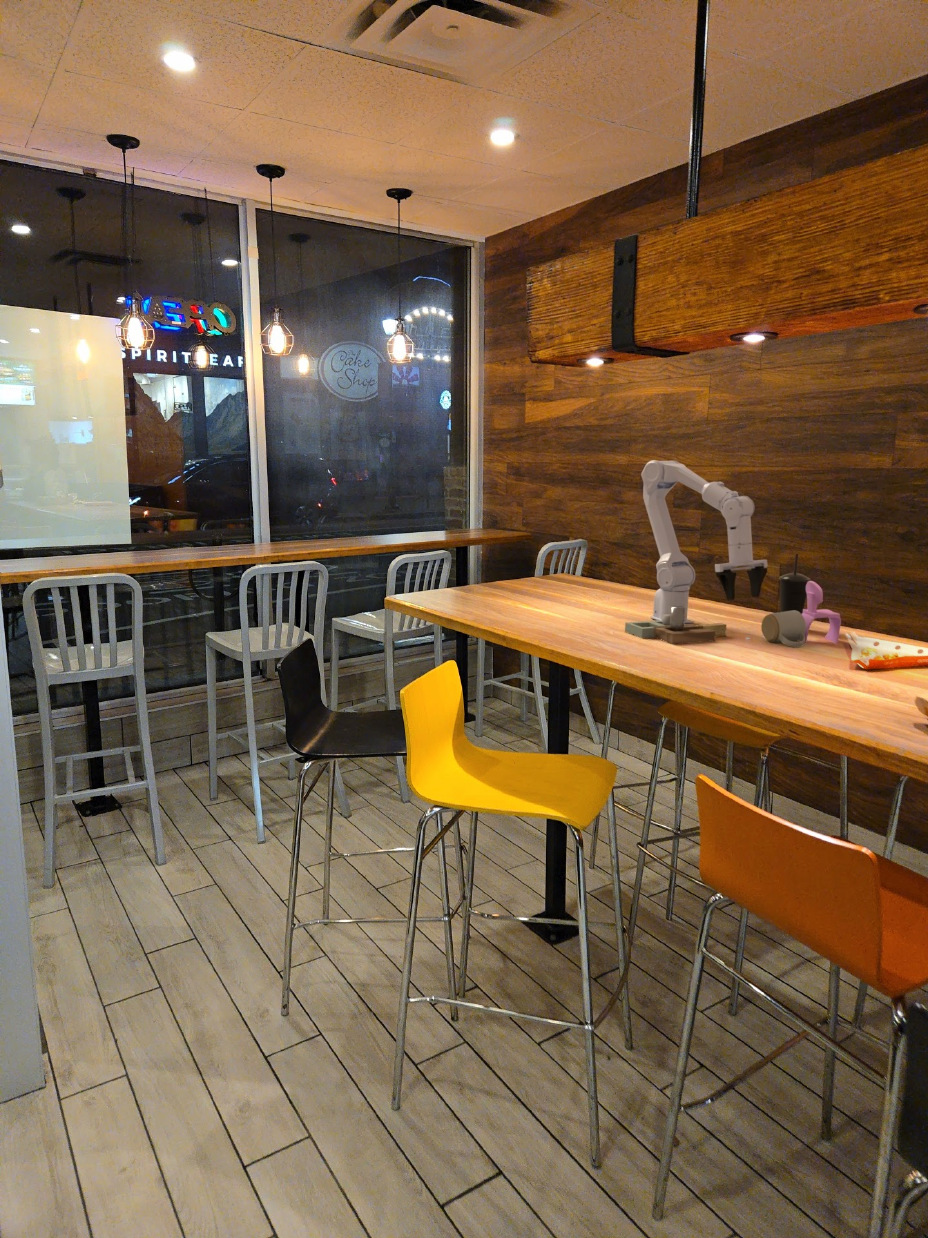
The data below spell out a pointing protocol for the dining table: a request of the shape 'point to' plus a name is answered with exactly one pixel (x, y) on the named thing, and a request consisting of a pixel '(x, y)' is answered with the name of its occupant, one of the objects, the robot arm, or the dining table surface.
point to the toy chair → (820, 612)
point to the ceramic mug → (784, 628)
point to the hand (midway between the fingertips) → (743, 598)
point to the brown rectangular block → (715, 628)
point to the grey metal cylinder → (677, 618)
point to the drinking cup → (793, 590)
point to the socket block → (684, 634)
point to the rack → (646, 627)
